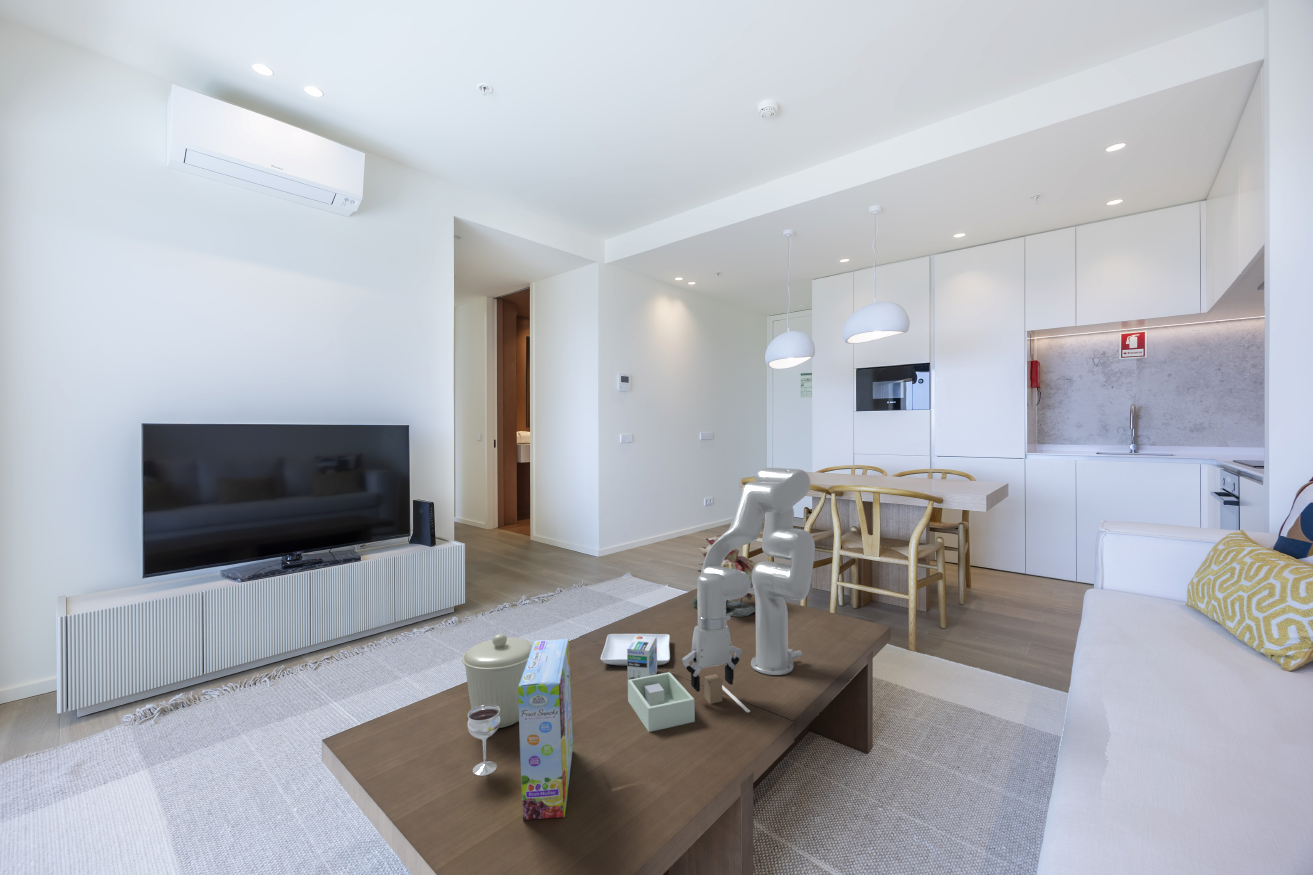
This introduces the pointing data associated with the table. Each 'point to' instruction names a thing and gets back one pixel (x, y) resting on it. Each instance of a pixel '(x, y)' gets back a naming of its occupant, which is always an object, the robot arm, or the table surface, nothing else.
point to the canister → (497, 674)
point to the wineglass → (484, 732)
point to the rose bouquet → (739, 564)
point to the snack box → (545, 730)
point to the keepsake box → (664, 715)
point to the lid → (717, 690)
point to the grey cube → (654, 694)
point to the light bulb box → (642, 657)
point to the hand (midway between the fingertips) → (712, 685)
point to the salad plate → (620, 642)
